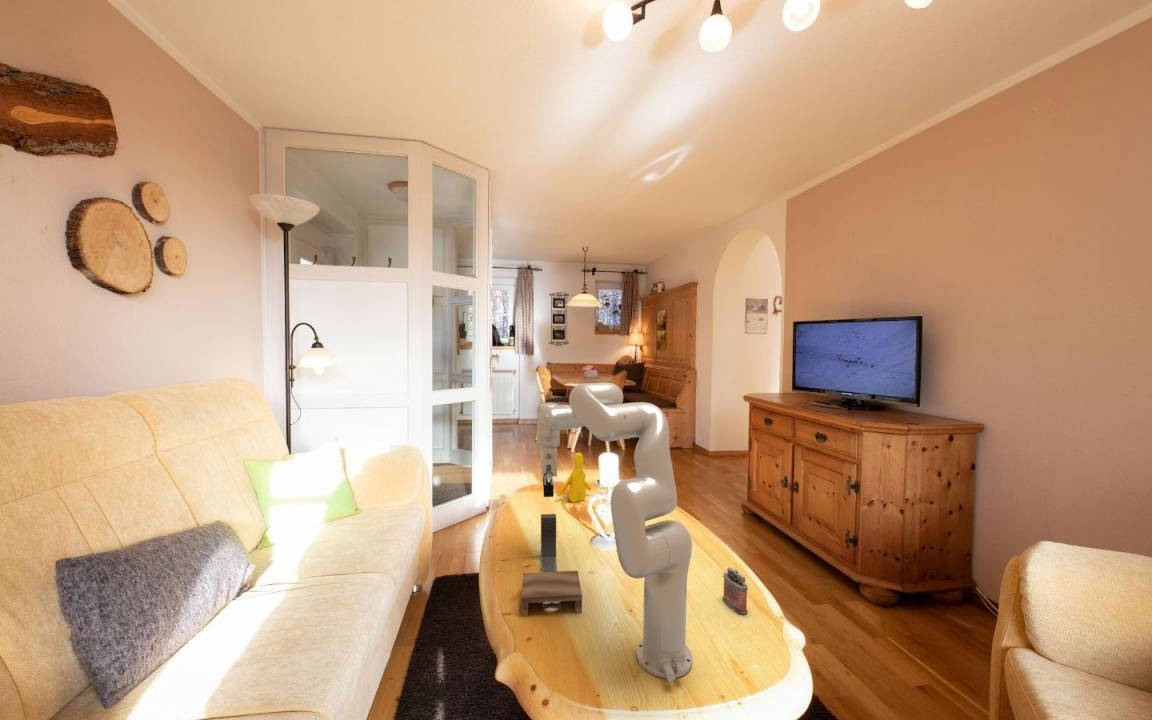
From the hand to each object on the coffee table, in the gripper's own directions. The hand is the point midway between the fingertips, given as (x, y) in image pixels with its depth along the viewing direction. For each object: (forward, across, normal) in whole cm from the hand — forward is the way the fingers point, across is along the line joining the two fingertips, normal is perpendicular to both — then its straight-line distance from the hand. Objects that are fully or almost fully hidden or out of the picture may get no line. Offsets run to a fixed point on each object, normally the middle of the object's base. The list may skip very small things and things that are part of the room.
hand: (548, 491), depth 145 cm
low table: (+22, -25, 0) cm, 33 cm away
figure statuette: (+23, +49, -14) cm, 56 cm away
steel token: (+22, -28, 0) cm, 35 cm away
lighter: (+22, -32, -50) cm, 64 cm away
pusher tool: (+22, -8, 0) cm, 24 cm away
